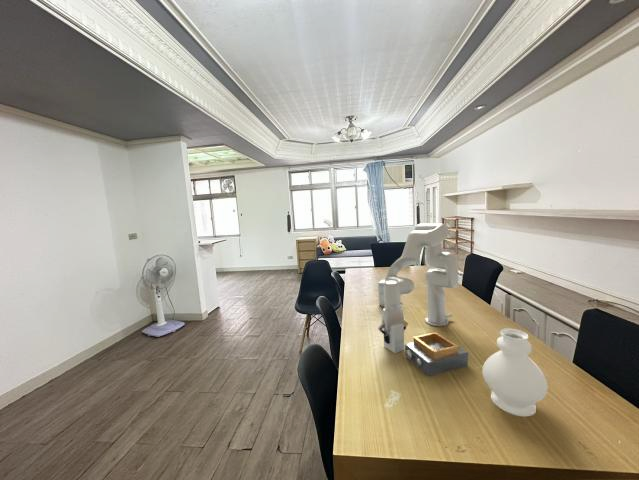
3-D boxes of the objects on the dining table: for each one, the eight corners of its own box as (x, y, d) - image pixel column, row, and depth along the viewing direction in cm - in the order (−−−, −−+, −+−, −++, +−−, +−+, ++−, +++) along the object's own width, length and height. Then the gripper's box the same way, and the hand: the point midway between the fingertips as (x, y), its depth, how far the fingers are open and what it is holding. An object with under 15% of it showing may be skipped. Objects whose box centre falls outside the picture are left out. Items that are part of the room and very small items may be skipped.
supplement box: (395, 303, 190) (395, 280, 188) (392, 307, 182) (391, 283, 180) (383, 301, 195) (382, 279, 193) (378, 305, 187) (377, 282, 185)
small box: (404, 349, 128) (404, 324, 127) (394, 353, 125) (393, 327, 124) (393, 342, 135) (392, 318, 134) (383, 346, 133) (382, 321, 131)
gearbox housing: (441, 347, 128) (441, 329, 127) (468, 365, 113) (468, 345, 112) (403, 356, 123) (402, 338, 122) (425, 376, 107) (425, 356, 106)
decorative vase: (551, 431, 79) (555, 352, 76) (481, 410, 88) (482, 340, 86) (541, 394, 94) (543, 327, 91) (482, 380, 103) (482, 318, 100)
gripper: (403, 301, 134) (404, 334, 136) (372, 306, 129) (374, 341, 131) (412, 306, 127) (413, 341, 129) (380, 311, 122) (381, 348, 124)
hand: (393, 340), depth 130 cm, fingers closed on small box, 7 cm apart
